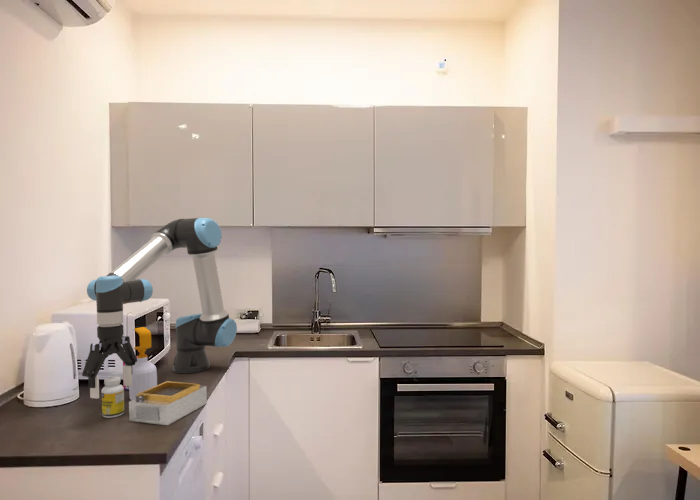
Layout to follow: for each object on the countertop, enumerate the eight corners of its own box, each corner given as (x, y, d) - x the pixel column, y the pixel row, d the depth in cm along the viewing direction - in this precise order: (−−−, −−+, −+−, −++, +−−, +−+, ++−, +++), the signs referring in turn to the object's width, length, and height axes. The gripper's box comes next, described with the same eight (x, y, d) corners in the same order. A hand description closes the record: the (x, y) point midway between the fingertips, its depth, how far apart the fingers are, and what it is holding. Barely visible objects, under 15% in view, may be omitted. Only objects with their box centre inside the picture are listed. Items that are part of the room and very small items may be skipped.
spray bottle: (149, 391, 182) (146, 324, 181) (162, 396, 176) (160, 327, 175) (124, 398, 175) (122, 328, 174) (137, 403, 169) (135, 331, 168)
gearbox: (172, 400, 172) (171, 378, 171) (206, 403, 167) (206, 381, 167) (128, 421, 152) (127, 397, 152) (166, 425, 148) (165, 400, 148)
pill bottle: (99, 415, 158) (97, 379, 158) (120, 409, 163) (119, 374, 163) (106, 420, 154) (105, 382, 153) (127, 414, 158) (126, 378, 158)
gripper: (129, 318, 171) (131, 380, 171) (67, 331, 147) (69, 402, 147) (147, 319, 168) (149, 381, 168) (87, 332, 144) (89, 404, 145)
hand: (111, 391), depth 158 cm, fingers open, 13 cm apart
